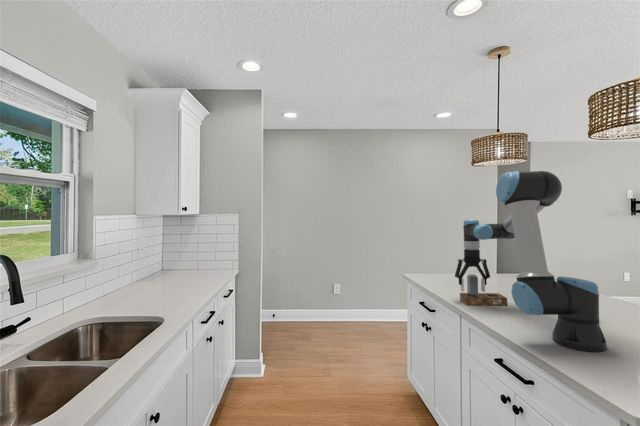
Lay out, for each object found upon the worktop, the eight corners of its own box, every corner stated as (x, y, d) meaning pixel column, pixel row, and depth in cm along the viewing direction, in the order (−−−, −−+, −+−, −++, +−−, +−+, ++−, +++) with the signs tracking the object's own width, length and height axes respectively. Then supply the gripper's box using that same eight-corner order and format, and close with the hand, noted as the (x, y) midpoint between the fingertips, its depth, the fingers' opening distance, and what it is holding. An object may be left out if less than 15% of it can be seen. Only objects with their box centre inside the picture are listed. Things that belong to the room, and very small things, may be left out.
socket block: (498, 300, 174) (498, 293, 174) (507, 305, 164) (507, 298, 164) (460, 300, 176) (459, 292, 176) (466, 305, 166) (466, 297, 166)
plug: (478, 303, 168) (477, 275, 168) (470, 303, 169) (469, 275, 169) (475, 301, 172) (474, 274, 172) (467, 301, 173) (467, 274, 173)
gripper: (491, 248, 173) (492, 289, 173) (447, 248, 176) (448, 289, 176) (497, 249, 166) (498, 292, 166) (451, 249, 168) (452, 292, 168)
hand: (472, 291), depth 171 cm, fingers open, 10 cm apart
